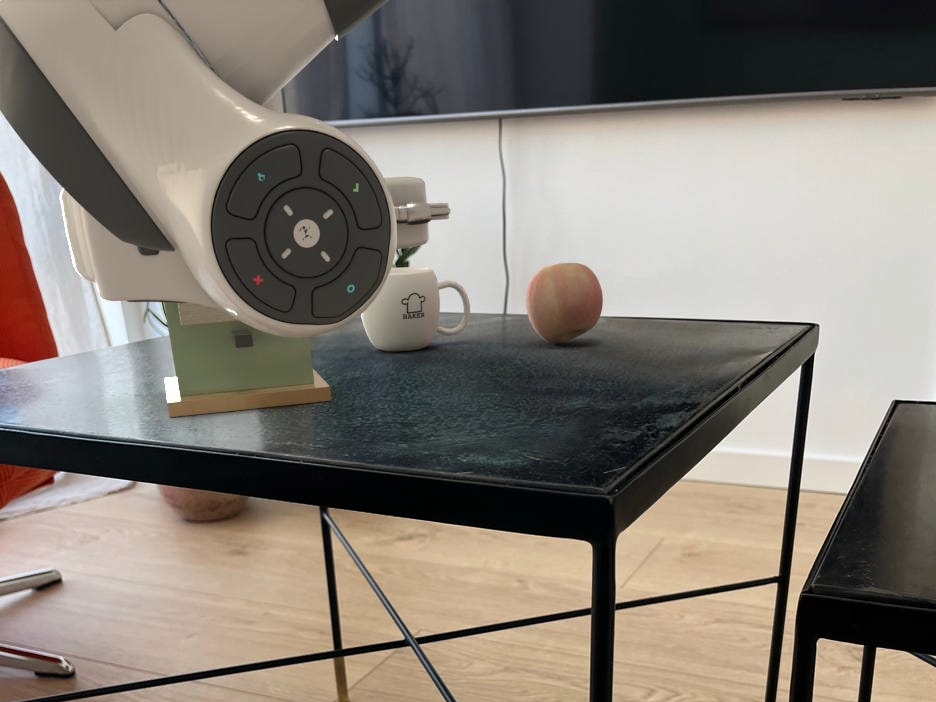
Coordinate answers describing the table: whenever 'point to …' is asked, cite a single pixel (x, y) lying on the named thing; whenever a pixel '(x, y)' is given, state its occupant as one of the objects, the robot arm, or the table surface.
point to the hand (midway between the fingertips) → (241, 218)
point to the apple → (564, 301)
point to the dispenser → (237, 368)
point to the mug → (409, 310)
